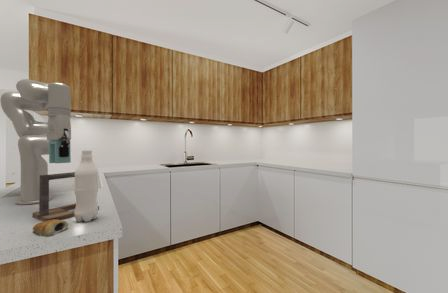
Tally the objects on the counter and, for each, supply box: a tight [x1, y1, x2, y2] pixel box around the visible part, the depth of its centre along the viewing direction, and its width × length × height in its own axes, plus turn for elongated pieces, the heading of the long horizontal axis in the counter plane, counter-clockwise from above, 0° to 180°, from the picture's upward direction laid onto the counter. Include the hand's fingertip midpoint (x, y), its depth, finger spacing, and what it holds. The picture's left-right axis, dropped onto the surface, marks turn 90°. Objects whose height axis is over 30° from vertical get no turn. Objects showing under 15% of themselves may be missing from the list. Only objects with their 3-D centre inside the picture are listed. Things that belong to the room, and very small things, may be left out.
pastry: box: [32, 219, 69, 237], centre depth 65 cm, size 9×7×4 cm
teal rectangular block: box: [48, 141, 72, 164], centre depth 86 cm, size 6×5×9 cm
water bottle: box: [73, 150, 99, 223], centre depth 75 cm, size 7×7×25 cm
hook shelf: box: [31, 171, 100, 222], centre depth 82 cm, size 13×17×16 cm
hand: (60, 156), depth 86 cm, fingers closed on teal rectangular block, 5 cm apart
